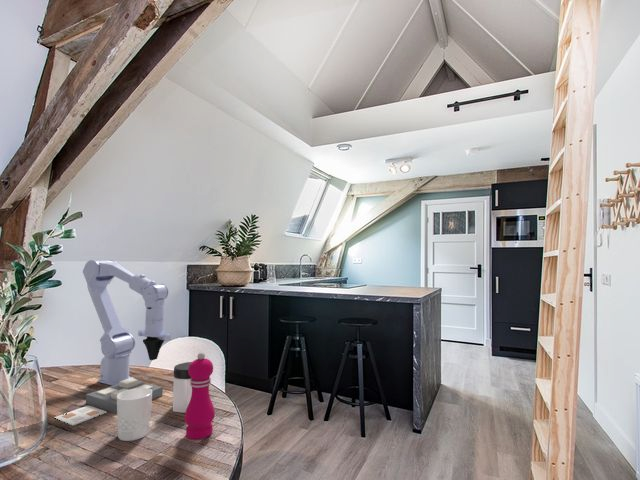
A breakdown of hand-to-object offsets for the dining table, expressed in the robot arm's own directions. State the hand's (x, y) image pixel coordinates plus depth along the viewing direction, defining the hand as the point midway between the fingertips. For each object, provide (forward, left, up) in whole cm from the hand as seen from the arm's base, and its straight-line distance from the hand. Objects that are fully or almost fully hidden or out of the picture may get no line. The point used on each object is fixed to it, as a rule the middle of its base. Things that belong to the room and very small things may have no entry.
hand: (153, 359), depth 123 cm
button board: (+3, -12, -9) cm, 15 cm away
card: (+3, -25, -9) cm, 27 cm away
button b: (-1, -8, -6) cm, 11 cm away
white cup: (+26, -25, -9) cm, 37 cm away
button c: (+7, -16, -6) cm, 18 cm away
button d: (+7, -9, -7) cm, 13 cm away
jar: (+25, -7, -9) cm, 27 cm away
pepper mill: (+40, -17, -9) cm, 44 cm away
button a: (0, -15, -7) cm, 17 cm away
